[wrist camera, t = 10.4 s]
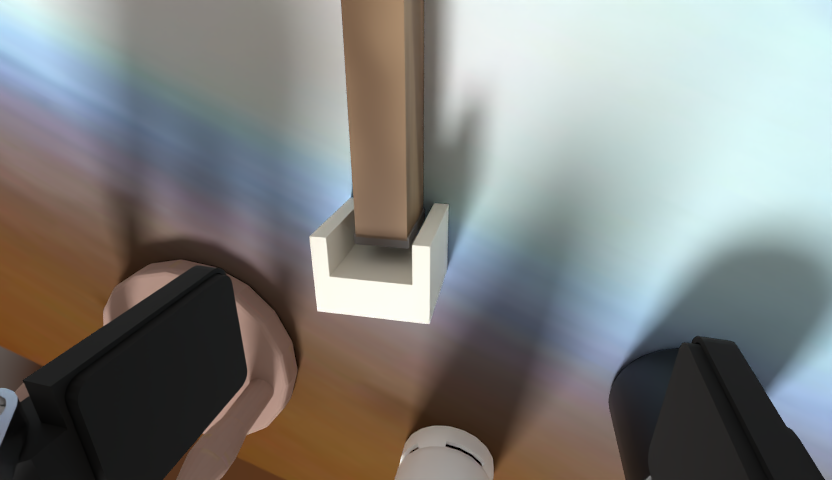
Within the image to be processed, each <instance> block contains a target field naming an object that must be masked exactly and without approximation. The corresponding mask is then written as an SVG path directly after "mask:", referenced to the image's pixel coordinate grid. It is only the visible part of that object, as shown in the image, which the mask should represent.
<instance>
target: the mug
mask: <svg viewBox="0 0 832 480" xmlns="http://www.w3.org/2000/svg"><path fill="white" fill-rule="evenodd" d="M678 351H679V348H675V349H666V350H660V351H656V352H653V353H650V354H647V355H645V356H643V357H640V358H638V359H637V360H635V361H633V362H632V363H630V364H629V365H628V366H627V367H626V368H624V369H623V370H622V371H621V373H620V374H619V375H618V376H617V378H616V380H615V381H614V383H613V385H612V388H611V391H610V395H609V409H610V413H611V418H612V422H613V426H614V431H615V435H616V440H617V444H618V448H619V453H620V457H621V461H622V466H623V470H624V474H625V479H626V480H652V479H651V475H650V471H649V465H648V453H649V447H650V444H651V440H652V437H653V434H654V431H655V427H656V424H657V421H658V417H659V414H660V411H661V407H662V404H663V401H664V398H665V394H666V391H667V388H668V384H669V381H670V378H671V374H672V371H673V368H674V364H675V361H676V358H677V355H678Z"/></svg>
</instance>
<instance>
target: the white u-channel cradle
mask: <svg viewBox="0 0 832 480" xmlns="http://www.w3.org/2000/svg"><path fill="white" fill-rule="evenodd" d="M448 216H449V204H439V203H434V205H433V206H432V208H431V210H430V212H429V214H428V216H427V218H426V220H425V222H424V224H423V225H422V227H421V229H420V231H419V233H418V235H416V236H415V238H414V240H413V242H412V244H411V246H410V248H409V249H405V248H394V247H382V246H371V245H359V244H355V240H354V233H355V216H354V200H353V198H350V199H348V200H347V201H346V202H345V203H344V204H343V205H342V206H341V207H340V208H339V209H338V210H337V211H336V212H335V213H334V214H333V215H332V216H331V217H329V218H328V219H327V220H326V221H325V222H324V223H323V224H322V225H321V226H320V227H319V228H318V229H317V230H316V231H315V232H314V233H313V234H312V235H310V236H309V237H310V246H311V255H312V265H313V274H314V283H315V293H316V302H317V311H322V312H330V313H339V314H347V315H356V316H364V317H373V318H381V319H390V320H398V321H407V322H415V323H424V324H430V321H431V318H432V315H433V312H434V309H435V306H436V302H437V299H438V296H439V293H440V290H441V287H442V284H443V281H444V278H445V275H446V272H447V255H448Z"/></svg>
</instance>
